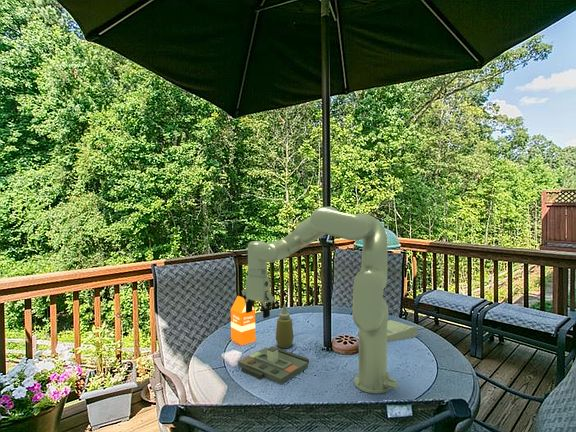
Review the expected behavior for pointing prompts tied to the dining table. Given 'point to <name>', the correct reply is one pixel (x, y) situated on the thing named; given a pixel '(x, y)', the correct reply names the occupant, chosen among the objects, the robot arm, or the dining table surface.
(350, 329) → the dining table surface
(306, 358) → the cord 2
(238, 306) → the orange juice
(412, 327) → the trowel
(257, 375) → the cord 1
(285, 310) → the squeeze bottle
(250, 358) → the breaker panel
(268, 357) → the breaker lever
